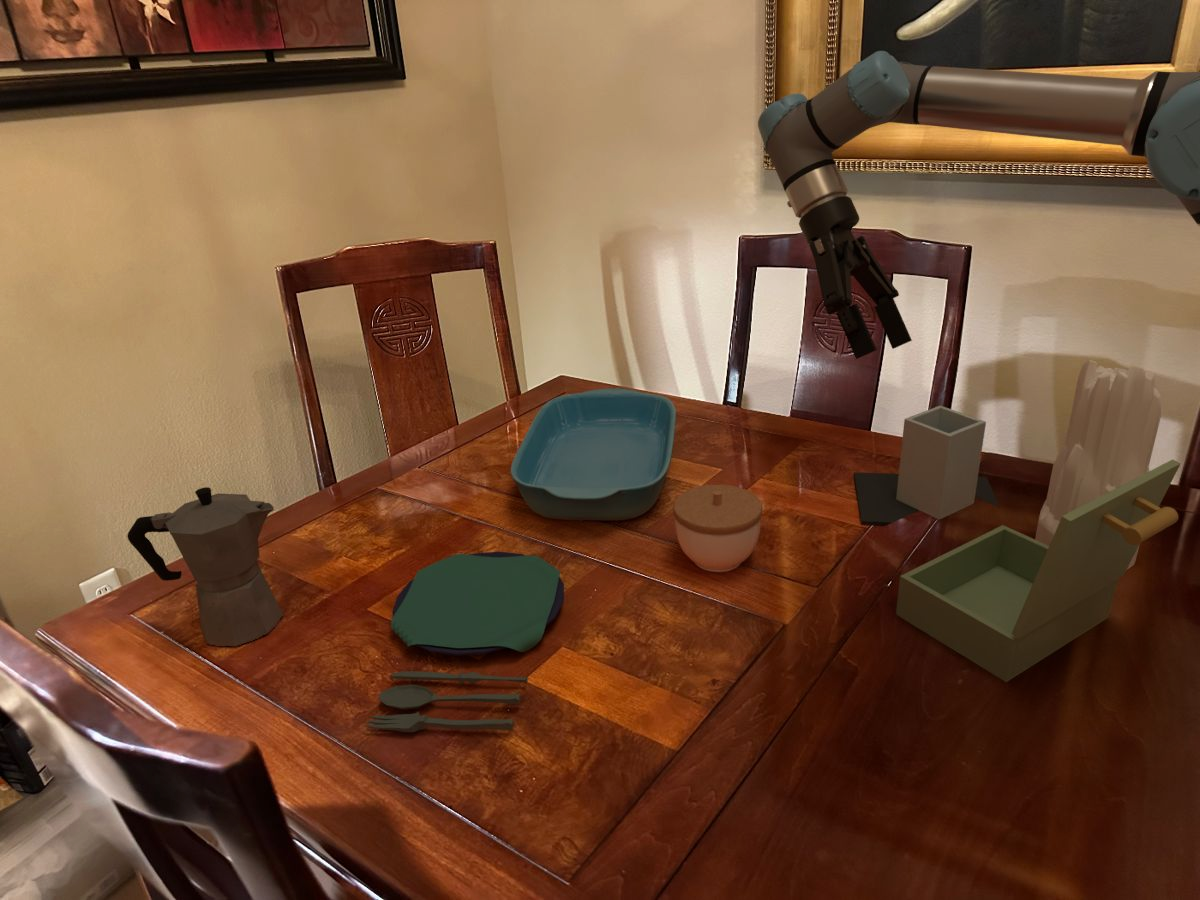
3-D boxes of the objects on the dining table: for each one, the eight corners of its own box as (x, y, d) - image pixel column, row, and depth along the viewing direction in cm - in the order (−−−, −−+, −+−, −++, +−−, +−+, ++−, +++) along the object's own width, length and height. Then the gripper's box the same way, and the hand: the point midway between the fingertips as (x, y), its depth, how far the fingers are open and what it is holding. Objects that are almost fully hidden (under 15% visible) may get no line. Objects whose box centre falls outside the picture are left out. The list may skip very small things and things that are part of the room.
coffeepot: (305, 591, 104) (271, 461, 96) (296, 638, 96) (259, 499, 88) (173, 613, 102) (128, 481, 94) (152, 662, 93) (101, 522, 86)
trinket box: (778, 554, 105) (780, 488, 101) (727, 594, 98) (727, 524, 94) (708, 527, 112) (708, 464, 108) (657, 562, 105) (654, 496, 101)
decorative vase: (1039, 522, 108) (1074, 336, 97) (1136, 541, 103) (1184, 346, 92) (1028, 564, 100) (1066, 366, 89) (1133, 587, 95) (1186, 380, 84)
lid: (1061, 516, 72) (1111, 545, 68) (1172, 459, 79) (1221, 483, 76) (1011, 633, 79) (1053, 664, 76) (1116, 571, 87) (1158, 597, 84)
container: (895, 499, 115) (904, 418, 109) (930, 484, 118) (940, 405, 113) (939, 520, 109) (950, 436, 104) (973, 503, 112) (986, 421, 107)
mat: (985, 480, 119) (986, 476, 119) (1008, 531, 107) (1009, 527, 106) (853, 475, 123) (853, 472, 122) (861, 524, 110) (861, 520, 110)
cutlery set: (577, 565, 106) (576, 549, 105) (532, 742, 79) (530, 724, 78) (425, 562, 108) (422, 547, 107) (331, 734, 82) (326, 716, 81)
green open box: (895, 619, 92) (899, 575, 90) (995, 565, 100) (1002, 524, 98) (1005, 687, 82) (1013, 640, 79) (1108, 621, 90) (1118, 577, 87)
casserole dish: (667, 541, 109) (665, 493, 106) (500, 538, 113) (494, 491, 110) (680, 425, 142) (680, 386, 139) (551, 426, 146) (547, 387, 142)
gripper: (835, 223, 127) (891, 351, 126) (758, 219, 108) (823, 371, 106) (880, 197, 122) (939, 330, 121) (807, 188, 103) (876, 346, 102)
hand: (885, 349), depth 114 cm, fingers open, 13 cm apart
